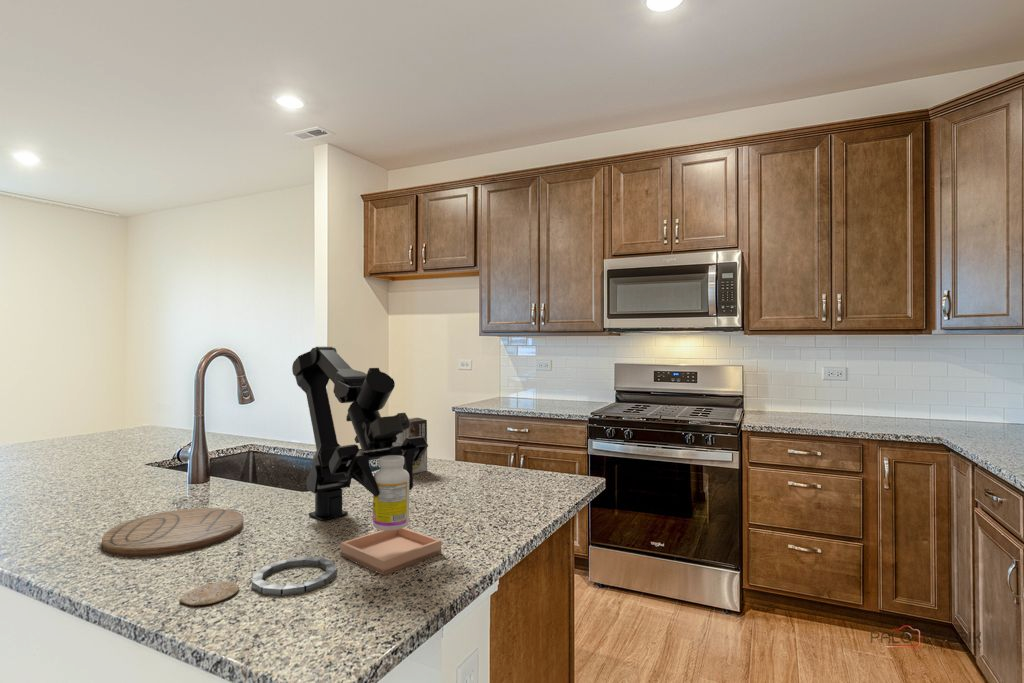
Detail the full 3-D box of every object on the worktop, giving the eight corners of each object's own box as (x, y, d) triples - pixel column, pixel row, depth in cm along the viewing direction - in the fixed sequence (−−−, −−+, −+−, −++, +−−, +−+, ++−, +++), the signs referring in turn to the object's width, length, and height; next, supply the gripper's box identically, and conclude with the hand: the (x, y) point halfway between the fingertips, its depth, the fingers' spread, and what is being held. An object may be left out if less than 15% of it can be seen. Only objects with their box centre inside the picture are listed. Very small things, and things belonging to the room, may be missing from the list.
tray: (340, 555, 102) (340, 542, 102) (397, 536, 112) (397, 525, 112) (384, 575, 94) (384, 561, 94) (441, 553, 104) (441, 540, 104)
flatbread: (226, 581, 92) (226, 575, 92) (246, 595, 87) (246, 588, 87) (172, 598, 86) (172, 592, 86) (190, 614, 81) (190, 607, 81)
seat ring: (238, 579, 92) (238, 573, 92) (310, 556, 102) (310, 551, 102) (276, 603, 84) (276, 596, 84) (350, 576, 94) (350, 570, 94)
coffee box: (417, 467, 175) (417, 417, 175) (427, 471, 170) (428, 419, 170) (391, 471, 169) (391, 419, 169) (401, 475, 164) (401, 421, 164)
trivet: (248, 511, 130) (248, 503, 130) (237, 548, 107) (237, 538, 107) (123, 523, 121) (123, 514, 121) (81, 566, 98) (81, 555, 98)
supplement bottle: (380, 518, 107) (381, 453, 107) (413, 521, 106) (414, 454, 106) (366, 530, 100) (367, 460, 100) (401, 532, 100) (402, 462, 100)
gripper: (335, 402, 100) (361, 475, 92) (423, 396, 112) (454, 460, 104) (318, 439, 106) (341, 510, 98) (404, 429, 118) (431, 492, 110)
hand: (394, 491), depth 102 cm, fingers closed on supplement bottle, 7 cm apart
